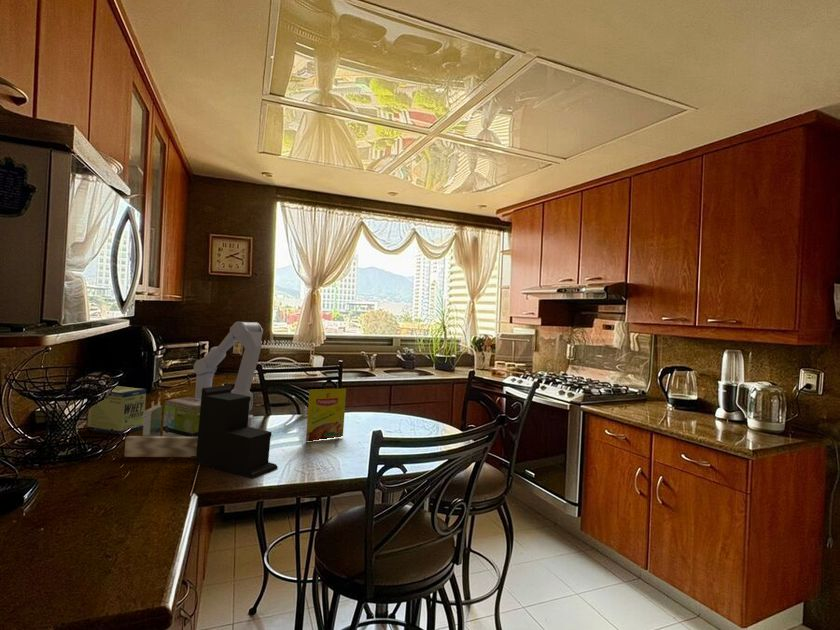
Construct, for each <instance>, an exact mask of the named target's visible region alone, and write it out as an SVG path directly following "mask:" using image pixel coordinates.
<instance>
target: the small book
mask: <svg viewBox="0 0 840 630" xmlns="http://www.w3.org/2000/svg"><path fill="white" fill-rule="evenodd" d="M162 414H163V405H154V406H152V407H150V408H148V409H145V412H144V425H143V429H142V436H161V428H162V427H161V426H162V416H163V415H162Z"/></svg>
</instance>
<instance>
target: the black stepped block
mask: <svg viewBox="0 0 840 630" xmlns="http://www.w3.org/2000/svg"><path fill="white" fill-rule="evenodd" d="M231 391H232V385H231V384H226V385H225V384H224V385H217V386H212V387H207V388H202V395H201V407H200V418H199V429H198V440H197V452H196V457H195V463H196V464H199V465H203V466H206V467H210V468H212V469H213V468H214V469H216V470H220V471H223V472H227V473H231V474H234V475H237V476H238V475H239V476H240V477H241V476H242V477H245V478H249V479H256V478H257V477H260V476H263V475H266V474H268V473H270V472H273V471H276V470H278V465H277V463H273V462H269V460H270V459H269V458H270V457H269V456H270V450H271V449H270V447H271V446H270V445H271V437H272V431H268V430H264V429H259V428H255V427H253V428H251V427H248V416H249V415H250V411H249V402H250V399H251V397H250V396H245V395H240V394H234V393H231Z"/></svg>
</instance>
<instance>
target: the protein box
mask: <svg viewBox="0 0 840 630" xmlns="http://www.w3.org/2000/svg"><path fill="white" fill-rule="evenodd" d="M115 386H116V387H115V388H114V389H113V390H112V392H111V393H110V394H109V395H108V397H107V398H105V399H104V400H102V401H100V402H98V403H97V404H95V405H93V406H92V407H91V408H90V409H89V408H88V415H87V423H86V425H87V426H86V429H87V428H94V429H96V430H92V431H91V432H96V433H104V434H109V433H110V432H112V435H116V434H117V433H121V432H123V431H125V430H127V429H128V428H130V427H132V429H131V431H130V433H133V432H138V431H140V430H143V425H144V412H145V411H146V399H147V388H140V387H139V388H137V387H136V388H135V387H128V386H119V385H115ZM111 429H113V431H111Z"/></svg>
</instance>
